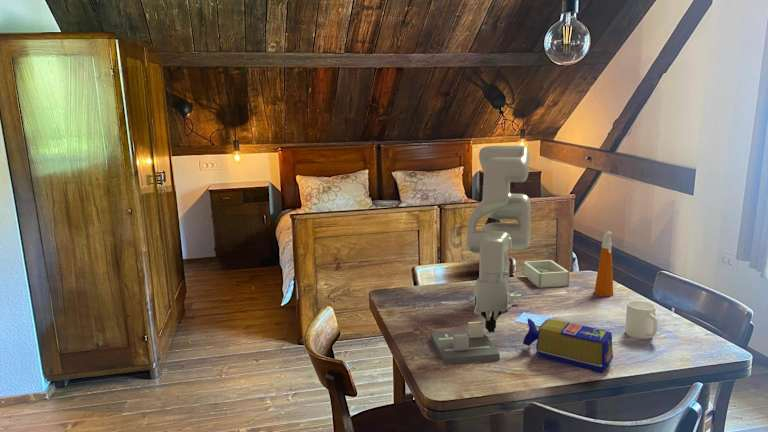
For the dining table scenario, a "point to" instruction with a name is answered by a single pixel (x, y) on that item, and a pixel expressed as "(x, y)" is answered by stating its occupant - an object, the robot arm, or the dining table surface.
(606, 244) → the spray bottle
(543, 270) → the medication box
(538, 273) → the frame
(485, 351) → the console
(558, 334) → the bread
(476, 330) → the fader
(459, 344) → the fader
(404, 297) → the dining table surface
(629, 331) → the cup
